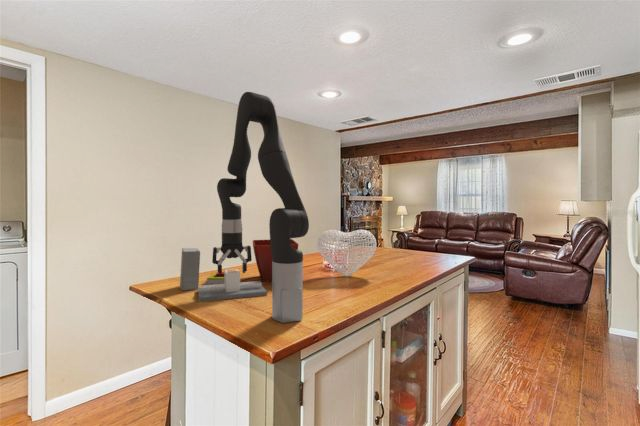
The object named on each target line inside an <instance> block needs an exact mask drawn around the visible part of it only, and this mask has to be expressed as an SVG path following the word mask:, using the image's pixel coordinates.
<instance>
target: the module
mask: <svg viewBox="0 0 640 426" xmlns="http://www.w3.org/2000/svg"><path fill="white" fill-rule="evenodd" d="M223 272H224V284H225V285H226V292H236V291H240V279H241V272H240V270H239V269H238V268H236V269H235V268H234V269H233V268H232V269H224V271H223Z"/></svg>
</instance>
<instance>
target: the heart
mask: <svg viewBox="0 0 640 426" xmlns="http://www.w3.org/2000/svg"><path fill="white" fill-rule="evenodd" d="M331 242H332V243H331ZM377 244H378V243H377V239H376V236H374V234H373V233H372V232H371V231H370V230H366V229H357V230H352V231H350V232H345V231H340V230H338V229H327V230H325V231H324V232H322V233H321V234H320V236H319V237H318V240H317V249H318V252H319V254H320V255H321V257H322V258H323V259H324V260H325V261H326V262H327V263H328V265H330V266H331V267H332V268H333V269H335V270H336V271H337V272H338V273H339V274H340V275H341V276H344V277H351V276H352V275H353V274H355V273H356V272H357V271H358V270H359V269H360V268H361V267H363V266H364V265H365V264H366V263H367V262H368V261H369V260H370V259H371V258H372V257H373V256H374V255H375V252H376V250H377V246H378V245H377ZM333 250H334V251H333ZM339 251H340V252H339ZM342 251H343V252H342Z"/></svg>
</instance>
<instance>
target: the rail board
mask: <svg viewBox="0 0 640 426" xmlns="http://www.w3.org/2000/svg"><path fill="white" fill-rule="evenodd" d="M197 293H198V303H199V302H200V303H201V302H202V303H203V302H211V301H212V302H213V301H220V300H221V301H222V300H232V299H242V298H254V297H261V296H268V291H267V289H265V287H264V286H263V285H262V288H257V289H246V290H240V291H236V292H226V291H223V292H212V293H201V286H200V287H198V289H197Z"/></svg>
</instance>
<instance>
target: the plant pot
mask: <svg viewBox="0 0 640 426" xmlns="http://www.w3.org/2000/svg"><path fill="white" fill-rule="evenodd" d="M290 241H291V246H292V247H293V248H294V249H297V250H299V243H298V242H296V241H295V240H293V238H290ZM252 246H253V253H254V256H255V257H254V258H255V263H256V266H257V267H256V268H257V271H258V273H259V277H260V282H261V283H262V282H264V283H265V282H272V253H271V249H270V239H253V240H252Z"/></svg>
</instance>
